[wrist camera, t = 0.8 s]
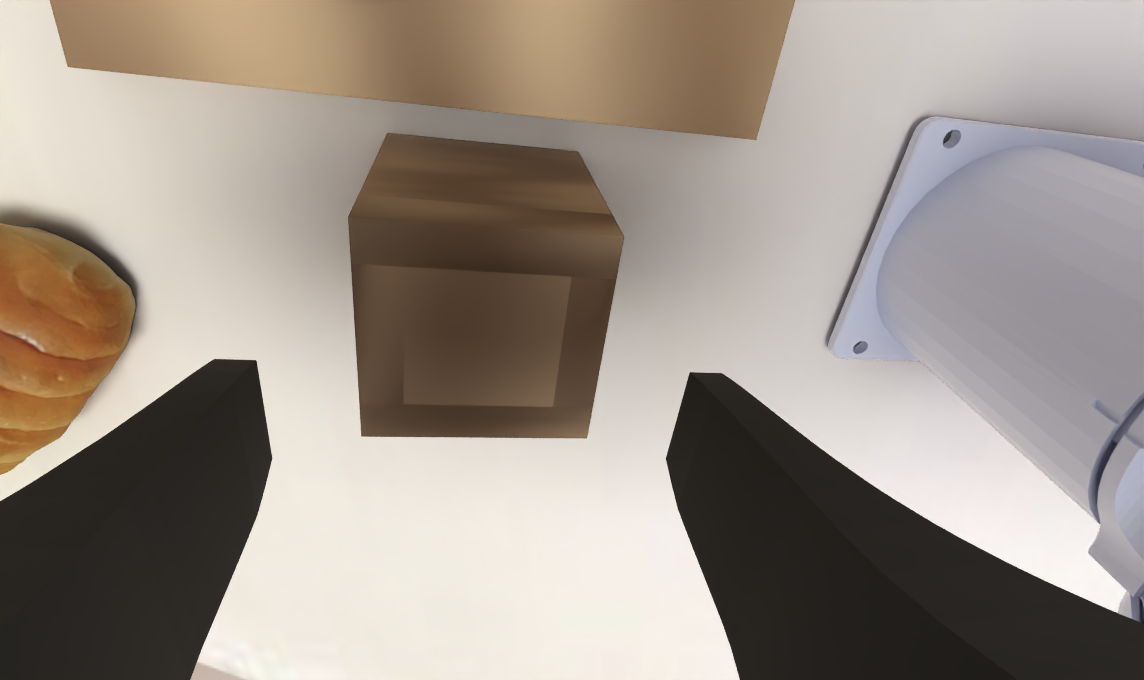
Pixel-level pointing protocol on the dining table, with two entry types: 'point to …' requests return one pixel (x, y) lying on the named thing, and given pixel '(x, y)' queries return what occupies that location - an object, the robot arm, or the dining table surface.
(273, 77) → the board
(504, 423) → the brown block
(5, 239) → the pastry
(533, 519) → the dining table surface
